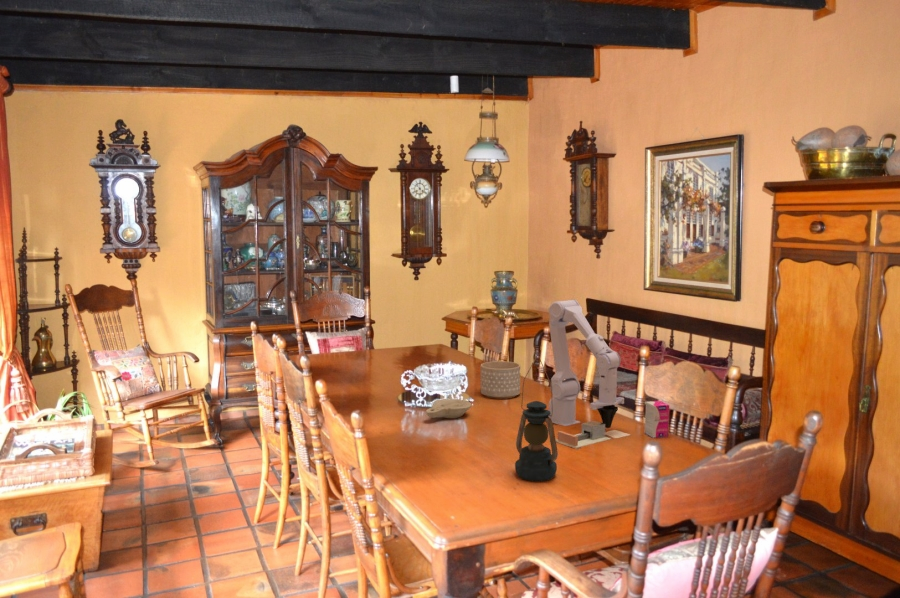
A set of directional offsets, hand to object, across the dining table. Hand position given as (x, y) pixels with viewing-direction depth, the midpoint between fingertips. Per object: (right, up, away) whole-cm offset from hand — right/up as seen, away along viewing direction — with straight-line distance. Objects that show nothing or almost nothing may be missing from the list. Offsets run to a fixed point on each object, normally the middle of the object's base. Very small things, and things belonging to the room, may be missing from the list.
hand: (607, 427), depth 248 cm
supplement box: (+16, -3, -2) cm, 17 cm away
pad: (+3, -3, 0) cm, 4 cm away
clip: (-5, -2, -4) cm, 7 cm away
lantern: (-29, -7, -38) cm, 48 cm away
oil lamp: (-54, -1, +23) cm, 59 cm away
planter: (-32, +3, +57) cm, 65 cm away
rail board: (-9, -3, -6) cm, 11 cm away
